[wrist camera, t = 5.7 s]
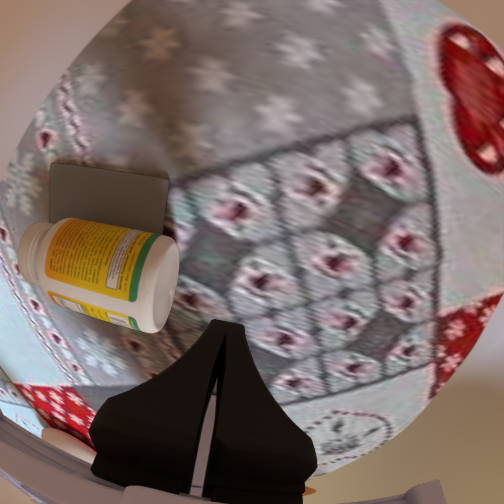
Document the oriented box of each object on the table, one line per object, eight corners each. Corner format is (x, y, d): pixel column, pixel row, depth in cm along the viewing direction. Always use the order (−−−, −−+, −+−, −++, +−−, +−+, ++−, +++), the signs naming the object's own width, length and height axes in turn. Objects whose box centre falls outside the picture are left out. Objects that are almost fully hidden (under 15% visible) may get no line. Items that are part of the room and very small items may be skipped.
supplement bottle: (152, 355, 14) (20, 308, 14) (178, 299, 19) (62, 270, 18) (151, 264, 12) (3, 229, 11) (184, 222, 16) (56, 201, 16)
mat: (156, 320, 20) (154, 323, 19) (57, 288, 19) (54, 290, 19) (169, 179, 16) (167, 180, 16) (53, 162, 16) (50, 163, 15)
